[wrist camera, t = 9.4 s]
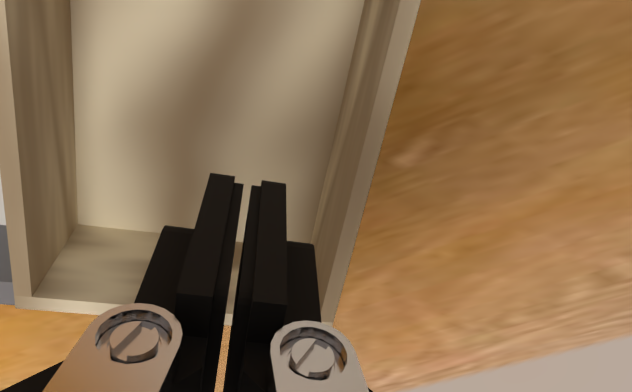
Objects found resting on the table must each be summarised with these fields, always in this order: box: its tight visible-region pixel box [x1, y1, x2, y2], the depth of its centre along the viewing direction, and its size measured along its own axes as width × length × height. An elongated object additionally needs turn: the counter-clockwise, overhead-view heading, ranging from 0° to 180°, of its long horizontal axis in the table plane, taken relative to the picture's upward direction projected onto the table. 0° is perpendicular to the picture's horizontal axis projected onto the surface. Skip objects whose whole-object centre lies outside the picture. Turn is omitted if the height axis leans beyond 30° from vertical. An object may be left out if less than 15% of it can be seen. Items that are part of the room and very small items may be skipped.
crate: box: [0, 0, 421, 327], centre depth 18 cm, size 12×15×6 cm
